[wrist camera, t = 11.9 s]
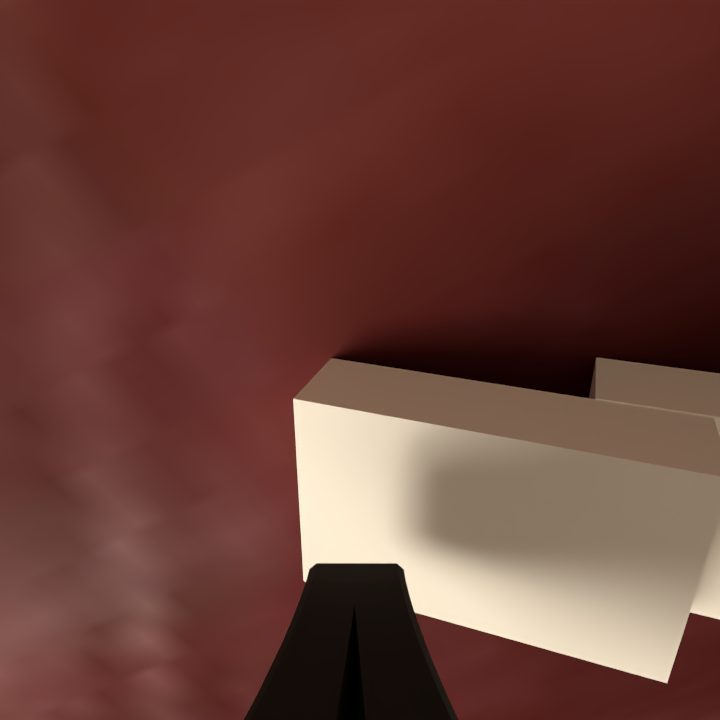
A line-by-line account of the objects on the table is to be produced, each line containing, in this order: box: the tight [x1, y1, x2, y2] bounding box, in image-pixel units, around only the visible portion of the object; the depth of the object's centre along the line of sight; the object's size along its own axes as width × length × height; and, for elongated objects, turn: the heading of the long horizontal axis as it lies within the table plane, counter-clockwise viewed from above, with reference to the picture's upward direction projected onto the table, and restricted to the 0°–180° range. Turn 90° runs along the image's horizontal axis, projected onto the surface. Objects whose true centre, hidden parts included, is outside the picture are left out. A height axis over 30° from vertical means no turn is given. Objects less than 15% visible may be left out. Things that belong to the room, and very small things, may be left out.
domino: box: [293, 358, 720, 683], centre depth 12 cm, size 2×4×7 cm
